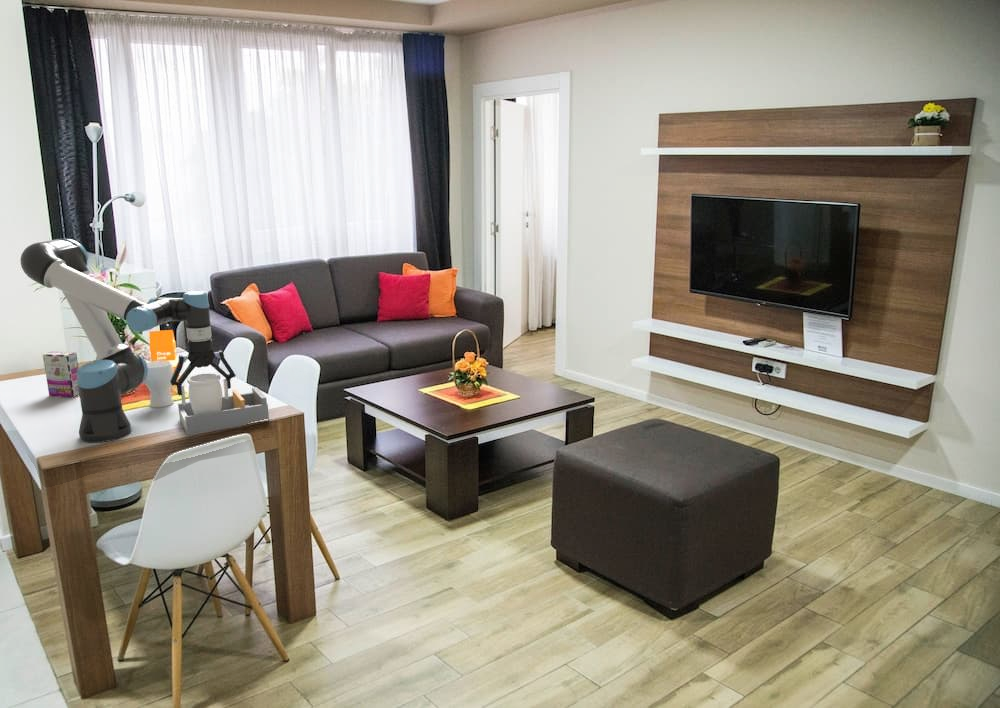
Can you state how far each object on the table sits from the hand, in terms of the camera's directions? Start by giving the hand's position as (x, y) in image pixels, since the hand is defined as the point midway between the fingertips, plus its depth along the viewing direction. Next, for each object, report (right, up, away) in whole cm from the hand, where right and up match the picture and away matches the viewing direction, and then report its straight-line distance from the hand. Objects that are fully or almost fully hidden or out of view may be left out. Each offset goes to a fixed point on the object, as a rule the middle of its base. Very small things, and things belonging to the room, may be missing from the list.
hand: (205, 401), depth 270 cm
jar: (0, -7, +2) cm, 7 cm away
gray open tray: (+5, -7, +4) cm, 9 cm away
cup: (-24, -3, +23) cm, 34 cm away
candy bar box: (-65, 0, +36) cm, 74 cm away
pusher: (+11, -5, +7) cm, 14 cm away
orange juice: (-35, +5, +55) cm, 65 cm away
